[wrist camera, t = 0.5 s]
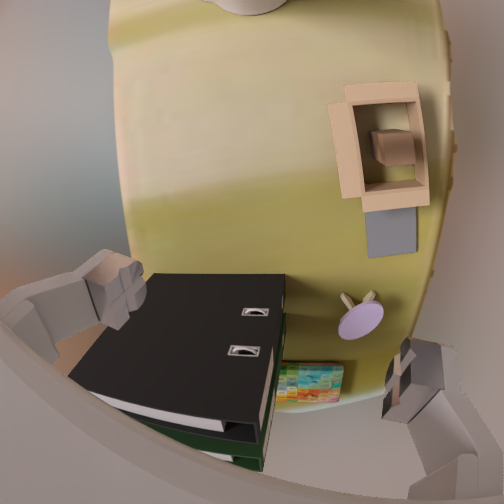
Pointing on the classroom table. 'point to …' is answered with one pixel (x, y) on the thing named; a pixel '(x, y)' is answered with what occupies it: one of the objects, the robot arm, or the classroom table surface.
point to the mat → (391, 231)
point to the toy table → (360, 317)
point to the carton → (349, 151)
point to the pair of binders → (197, 362)
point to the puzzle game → (310, 382)
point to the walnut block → (393, 147)
